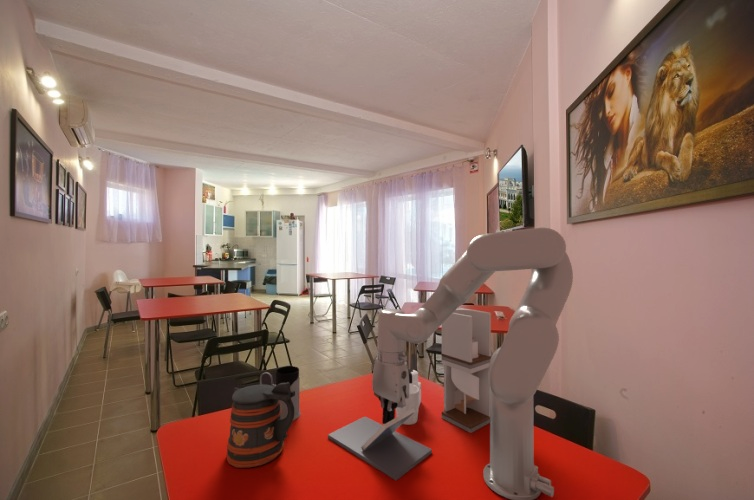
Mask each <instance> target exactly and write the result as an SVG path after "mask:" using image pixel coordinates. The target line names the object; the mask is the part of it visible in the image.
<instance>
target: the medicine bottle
mask: <svg viewBox="0 0 754 500" xmlns="http://www.w3.org/2000/svg"><path fill="white" fill-rule="evenodd" d="M408 372H409V384H411V385H415V386H417V387H418V388H419V407H418V409H419V408H420V405H421V402H422V382H421V381H419V372H418V371H417V370H415V369H411V368H408Z"/></svg>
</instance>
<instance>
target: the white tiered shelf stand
mask: <svg viewBox="0 0 754 500" xmlns="http://www.w3.org/2000/svg"><path fill="white" fill-rule="evenodd" d="M491 327H492V313H491V312H487V311H482V310H477V309H470V308H462V307H461V308H457V309H456V310H455V311H454V312H453V313H452V314H451V315H450V316H449V317H448V318H447V319H446V320H445V321H444V322H443V323H442V325H441V364H442V365H443V411H441V419H442V420H445V421H446V422H448V423H450V424H452V425H454V426H455V427H458V428H460V429H462V430H463V431H465V432H468V433H470V434H472V433H474V432H476V431H478V430H479V429H481V428H483V427H485V426H486V425H488V424H489V425H490V386H489V382H488V372H489V364H490V359H491V357H492V328H491Z"/></svg>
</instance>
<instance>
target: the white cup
mask: <svg viewBox="0 0 754 500" xmlns="http://www.w3.org/2000/svg"><path fill="white" fill-rule="evenodd" d="M405 402H406V406H405V407H403V408H399V407H397V408H396V409H395V413H396V417H398V416H400V415H402V414H404V413H405V412H407V411H409V410H411V409H414V410H415V412H414V413H413V414H412V415H411V416H410V417H409V418H408V419H407V420H406V421H405V422H404V423H403V424H402V425H408V426H410V425H415V424H416V423H417V422H418V418H419V408H420V405H419V388H418V387H417V386H415V385H411V384H409V398H407V399H405ZM418 407H419V408H418Z"/></svg>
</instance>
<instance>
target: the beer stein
mask: <svg viewBox="0 0 754 500" xmlns="http://www.w3.org/2000/svg"><path fill="white" fill-rule="evenodd" d="M293 396H295V391H291V390H290V383H289V382H287V383H280V384H278V385H277V386H276V387H275V386H273V385H272V384H271V385H270V384H264V383H262V384H260V383H259V384H255V385H254V384H252V385H247V386H245V387H242V388H239V387H234V388H233V394H232V396H231V400H232V401H233V402H232V404H231V411H230V416H229V417H230V419H229V423H230V428H229V430H230V431H229V437H228V439H227V444H226V447H227V448H226V460H227V462H228V464H229V465H231V466H232V467H234V468H237V469H242V468H243V469H245V468H246V469H247V468H255V467H260V466H264V465H266V464H268V463H270V462H272V461H273V460H275V459H276V458H278V457H279V456H280V454H281V452H283V450H284V446H285V440H286V439H287V437H288V433H287V432H288V430H289V429H290V428H291V426H292V424H293V422H294V420H293V419H294V405H293V402H292V400H291V397H293ZM280 400H282V401H283V402H284V403H285V404H286V405H287V408H288V414H287V417H286V418H284V419H281V418H280V415H281V406H280Z"/></svg>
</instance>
